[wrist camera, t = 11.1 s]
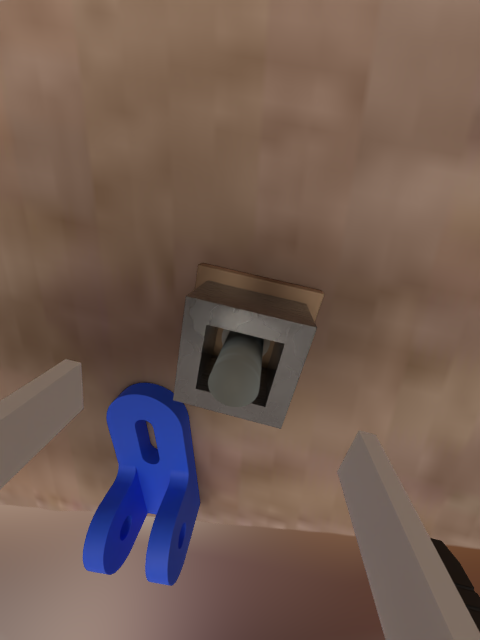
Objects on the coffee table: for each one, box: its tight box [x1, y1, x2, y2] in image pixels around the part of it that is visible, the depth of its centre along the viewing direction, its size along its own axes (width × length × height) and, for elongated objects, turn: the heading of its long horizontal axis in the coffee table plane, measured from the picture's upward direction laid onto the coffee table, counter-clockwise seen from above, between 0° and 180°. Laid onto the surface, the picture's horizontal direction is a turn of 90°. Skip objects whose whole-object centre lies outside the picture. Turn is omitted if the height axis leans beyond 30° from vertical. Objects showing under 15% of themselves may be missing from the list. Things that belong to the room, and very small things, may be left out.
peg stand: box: [195, 263, 324, 407], centre depth 18 cm, size 10×10×8 cm
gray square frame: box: [173, 280, 317, 429], centre depth 18 cm, size 8×8×5 cm
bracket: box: [83, 383, 200, 586], centre depth 24 cm, size 18×8×9 cm, turn 2°
